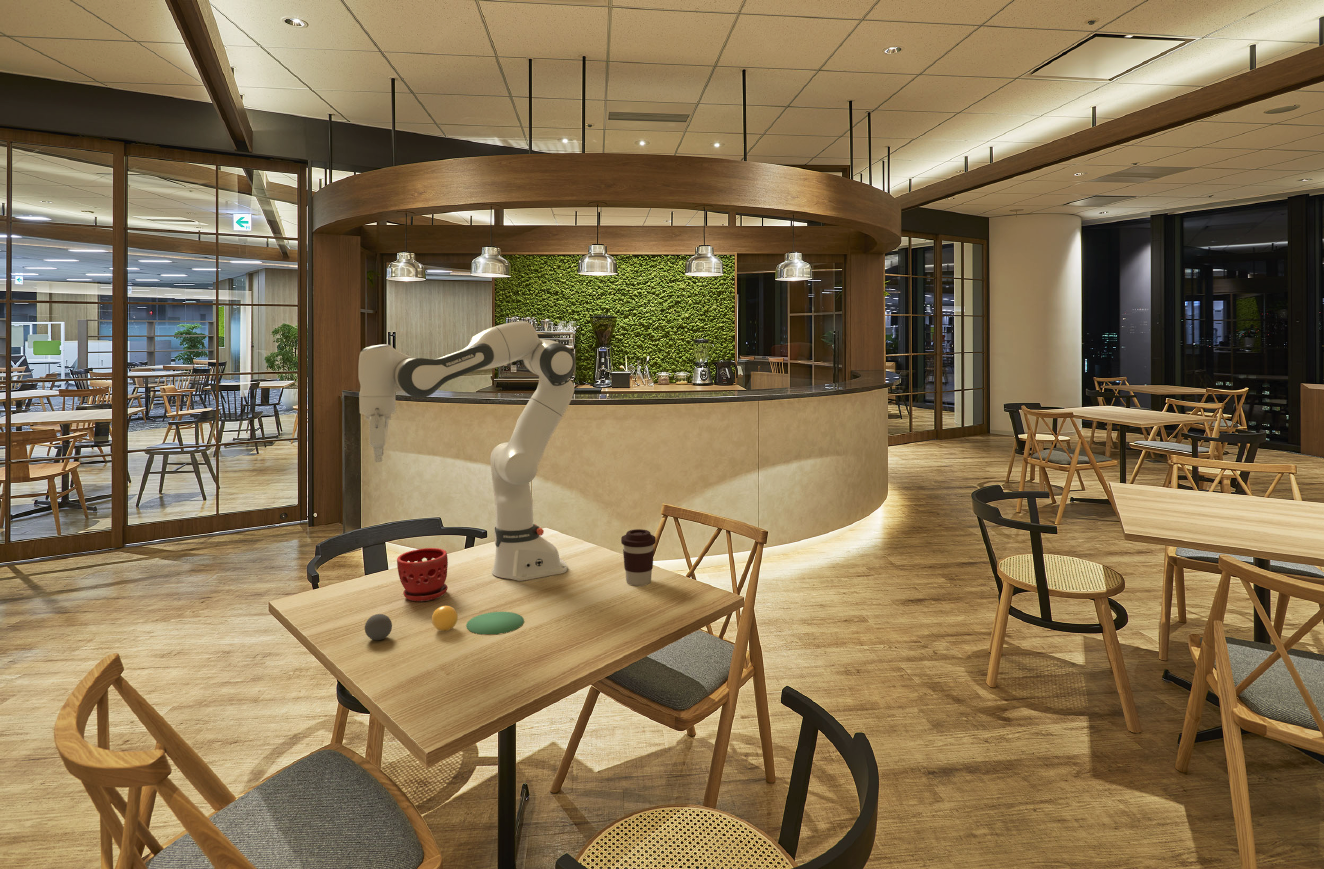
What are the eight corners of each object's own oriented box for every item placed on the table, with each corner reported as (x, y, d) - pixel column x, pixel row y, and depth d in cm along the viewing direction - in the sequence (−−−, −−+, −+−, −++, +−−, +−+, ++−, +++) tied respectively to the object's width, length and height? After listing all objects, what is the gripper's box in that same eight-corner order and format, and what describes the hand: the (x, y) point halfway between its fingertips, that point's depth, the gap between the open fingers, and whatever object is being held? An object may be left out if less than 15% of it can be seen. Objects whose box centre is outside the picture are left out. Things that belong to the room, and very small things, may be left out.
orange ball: (457, 623, 177) (456, 600, 176) (459, 633, 171) (458, 609, 170) (431, 627, 175) (430, 603, 174) (432, 636, 169) (431, 612, 168)
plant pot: (426, 585, 205) (424, 544, 203) (459, 593, 198) (457, 551, 196) (388, 599, 193) (386, 556, 192) (422, 608, 187) (420, 564, 185)
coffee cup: (615, 585, 204) (615, 534, 202) (630, 574, 213) (630, 526, 211) (647, 590, 200) (647, 538, 198) (660, 579, 209) (660, 529, 207)
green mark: (519, 609, 186) (519, 608, 186) (528, 630, 173) (528, 629, 173) (463, 616, 181) (463, 616, 181) (469, 638, 168) (469, 637, 168)
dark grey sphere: (392, 632, 172) (391, 608, 171) (392, 642, 166) (391, 617, 165) (365, 636, 169) (364, 612, 169) (364, 646, 164) (363, 621, 163)
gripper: (389, 410, 177) (391, 465, 179) (391, 403, 196) (392, 452, 198) (362, 410, 175) (364, 465, 177) (366, 403, 194) (368, 453, 196)
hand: (379, 459), depth 187 cm, fingers open, 8 cm apart
